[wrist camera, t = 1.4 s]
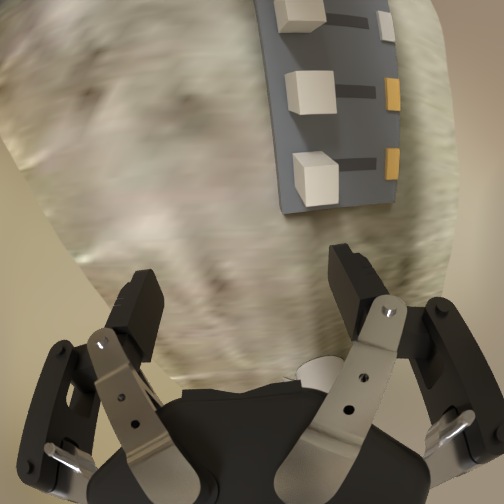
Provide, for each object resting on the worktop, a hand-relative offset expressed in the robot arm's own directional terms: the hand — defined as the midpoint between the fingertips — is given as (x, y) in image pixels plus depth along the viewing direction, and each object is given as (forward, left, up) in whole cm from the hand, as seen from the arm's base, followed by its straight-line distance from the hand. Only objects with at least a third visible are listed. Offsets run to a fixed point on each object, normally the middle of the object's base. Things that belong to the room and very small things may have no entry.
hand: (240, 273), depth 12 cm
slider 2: (+1, +7, -17) cm, 18 cm away
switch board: (-7, +11, -19) cm, 23 cm away
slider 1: (-15, +7, -17) cm, 23 cm away
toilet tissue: (+44, +10, -19) cm, 49 cm away
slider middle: (-7, +7, -17) cm, 19 cm away
